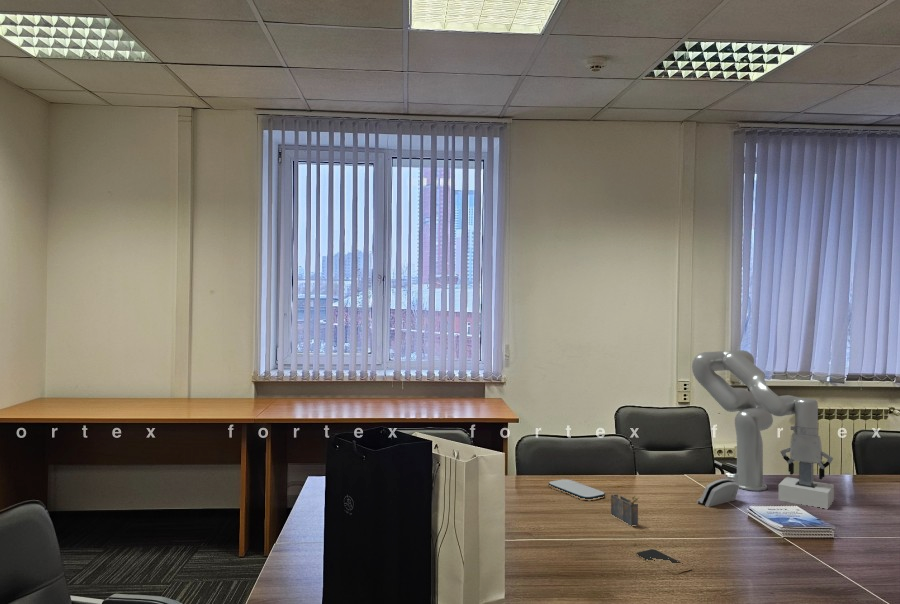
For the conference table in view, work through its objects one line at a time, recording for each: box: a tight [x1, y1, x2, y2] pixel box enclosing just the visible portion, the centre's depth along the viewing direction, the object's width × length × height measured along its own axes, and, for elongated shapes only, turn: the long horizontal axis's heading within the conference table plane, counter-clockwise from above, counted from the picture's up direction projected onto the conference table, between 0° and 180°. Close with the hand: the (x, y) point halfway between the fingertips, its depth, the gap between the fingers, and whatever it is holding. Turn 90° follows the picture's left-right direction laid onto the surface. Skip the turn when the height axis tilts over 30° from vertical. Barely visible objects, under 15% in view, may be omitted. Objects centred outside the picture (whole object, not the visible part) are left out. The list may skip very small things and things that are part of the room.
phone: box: [636, 549, 684, 564], centre depth 172 cm, size 7×1×15 cm
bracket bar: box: [798, 461, 814, 488], centre depth 229 cm, size 4×4×14 cm
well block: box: [778, 476, 835, 510], centre depth 229 cm, size 16×14×6 cm
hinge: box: [696, 478, 740, 508], centre depth 226 cm, size 17×5×10 cm, turn 121°
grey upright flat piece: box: [610, 493, 639, 527], centre depth 205 cm, size 11×3×10 cm, turn 20°
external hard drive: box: [548, 478, 606, 499], centre depth 238 cm, size 24×12×2 cm, turn 31°
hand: (806, 476), depth 229 cm, fingers open, 9 cm apart
